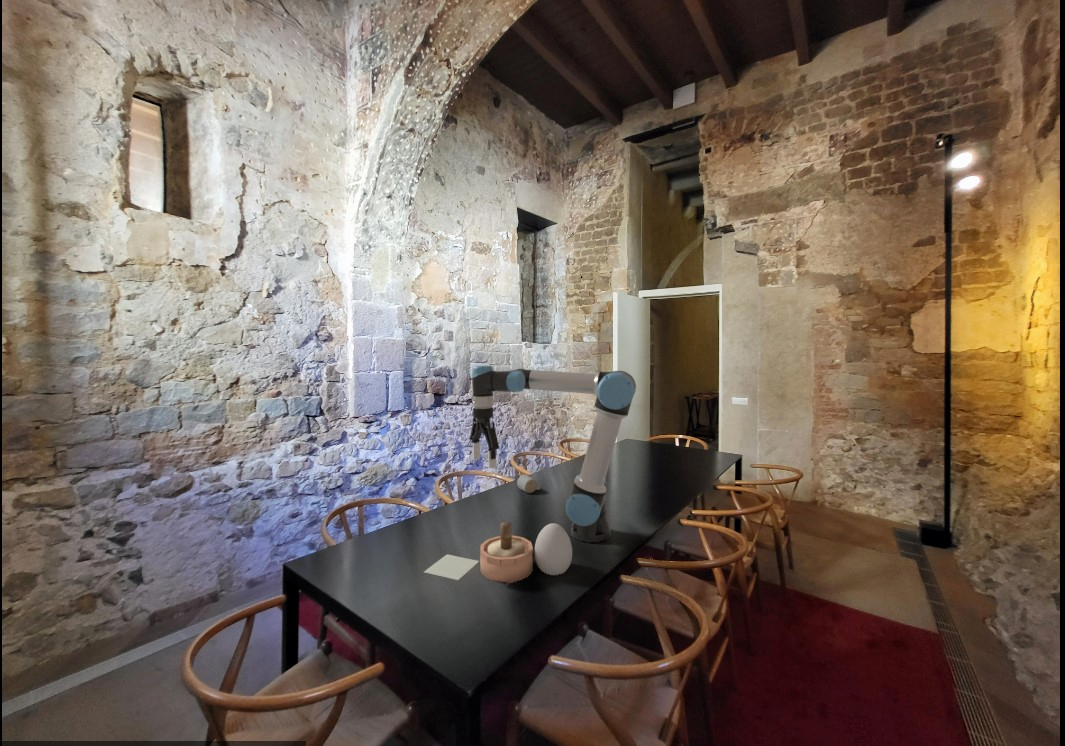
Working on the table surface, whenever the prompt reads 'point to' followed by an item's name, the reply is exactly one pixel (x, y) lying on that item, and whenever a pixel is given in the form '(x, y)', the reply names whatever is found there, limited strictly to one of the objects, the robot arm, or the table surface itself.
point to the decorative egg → (553, 550)
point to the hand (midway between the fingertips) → (484, 463)
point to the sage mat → (451, 567)
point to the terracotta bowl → (506, 563)
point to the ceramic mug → (527, 484)
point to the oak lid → (506, 543)
